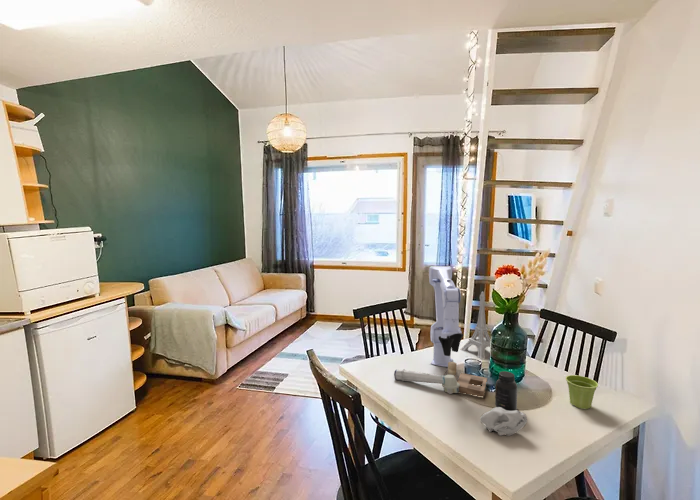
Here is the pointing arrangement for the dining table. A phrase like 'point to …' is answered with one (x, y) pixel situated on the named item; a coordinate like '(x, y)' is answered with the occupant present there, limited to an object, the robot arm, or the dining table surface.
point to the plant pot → (581, 390)
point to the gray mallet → (429, 379)
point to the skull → (504, 421)
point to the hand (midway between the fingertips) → (451, 353)
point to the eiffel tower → (481, 327)
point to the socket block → (467, 382)
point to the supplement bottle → (506, 391)
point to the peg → (452, 368)
